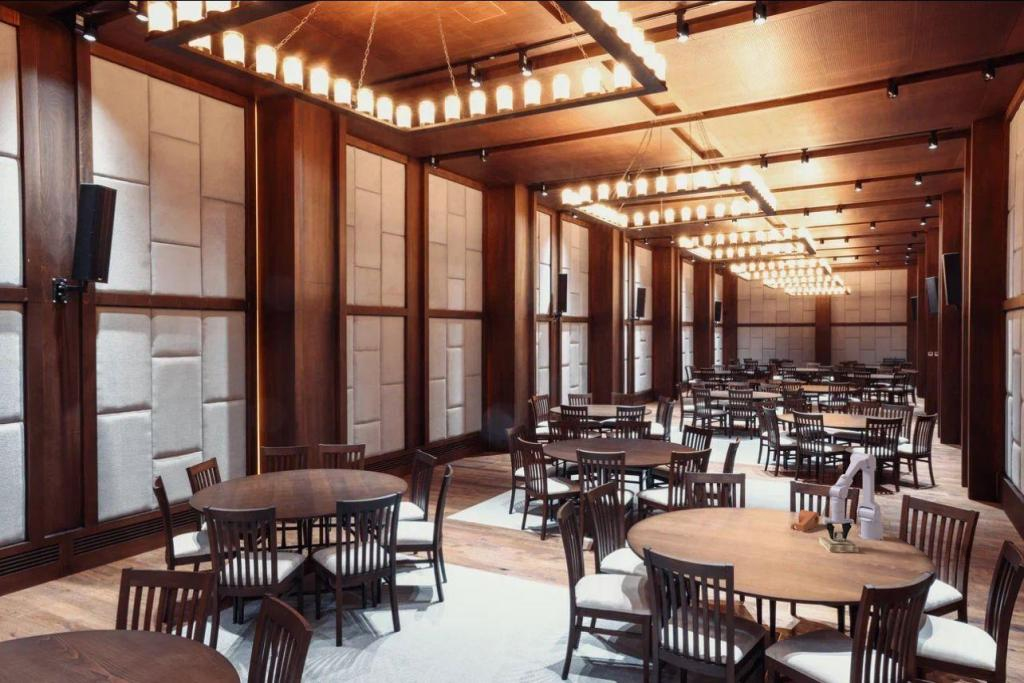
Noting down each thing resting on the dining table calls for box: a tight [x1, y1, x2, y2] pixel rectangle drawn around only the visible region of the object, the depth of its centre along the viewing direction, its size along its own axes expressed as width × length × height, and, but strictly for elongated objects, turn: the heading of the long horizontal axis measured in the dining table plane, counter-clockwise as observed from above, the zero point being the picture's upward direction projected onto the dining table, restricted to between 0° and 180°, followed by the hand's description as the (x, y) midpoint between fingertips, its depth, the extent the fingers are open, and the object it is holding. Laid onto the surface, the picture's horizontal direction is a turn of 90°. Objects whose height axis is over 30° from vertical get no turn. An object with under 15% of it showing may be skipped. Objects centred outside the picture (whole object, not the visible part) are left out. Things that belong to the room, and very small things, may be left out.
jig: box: [818, 536, 859, 554], centre depth 331 cm, size 13×14×4 cm
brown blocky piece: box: [790, 509, 820, 533], centre depth 367 cm, size 20×8×8 cm, turn 133°
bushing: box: [834, 530, 843, 542], centre depth 334 cm, size 4×4×7 cm
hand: (838, 538), depth 334 cm, fingers open, 6 cm apart
